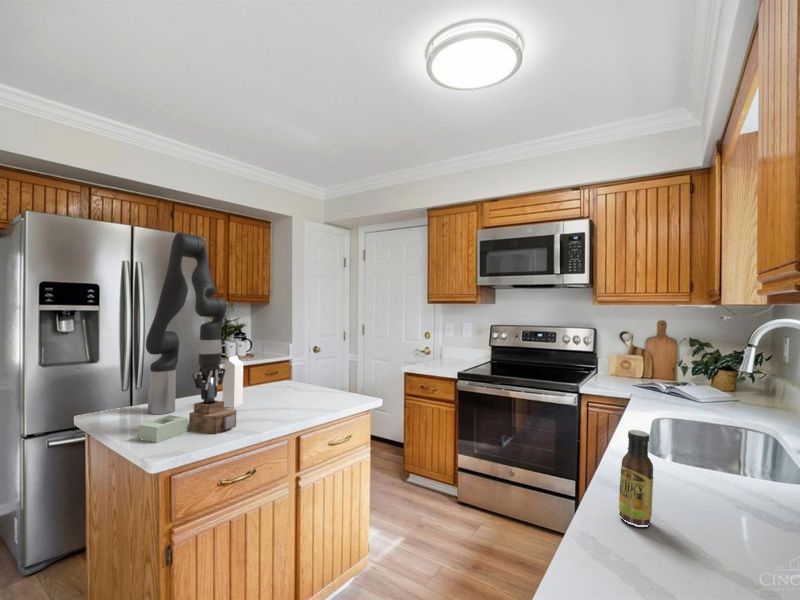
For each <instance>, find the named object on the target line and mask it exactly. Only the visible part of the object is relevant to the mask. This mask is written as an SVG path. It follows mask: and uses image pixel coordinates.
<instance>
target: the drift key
mask: <svg viewBox="0 0 800 600" xmlns="http://www.w3.org/2000/svg"><path fill="white" fill-rule="evenodd" d="M233 426H235V415H230V416H225V417H223V429H227V430H229V429H228V428H230V429H232V428H234V427H233ZM231 427H232V428H231ZM235 427H236V426H235Z"/></svg>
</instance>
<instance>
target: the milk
mask: <svg viewBox="0 0 800 600" xmlns="http://www.w3.org/2000/svg"><path fill="white" fill-rule="evenodd" d="M222 369H225V374H224V378H223V381H222V399H221V401H224V408H226V407H228V408H227V409H236V408H238V407H241V406H243V401H244V400H243V399H244V396H243V393H244V391H243V390H244V362H243V361H242V360H240V359H239V356H238V355H233V356H229V358H228V360H227V361H225V362H224V363H223V364H222ZM240 405H241V406H240ZM235 407H236V408H235Z"/></svg>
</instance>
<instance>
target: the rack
mask: <svg viewBox="0 0 800 600" xmlns="http://www.w3.org/2000/svg"><path fill="white" fill-rule="evenodd" d="M186 433H188V418H187V417H185V416H184V417H182V416H177V415H167V416H163V417H160V418H157V419H153V420H150V421H147V422H143V423H140V424H138V440H139V439H143V440H147V441H146V442H148V441H152V442H151V443H154V442H158V443H161V442H163V441H165V439H166V440H169V439H171V437H172V438H174V437H177V436H180V435H182V434H186ZM168 438H169V439H168ZM143 440H142V441H143ZM162 440H163V441H162ZM160 441H161V442H160Z"/></svg>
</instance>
